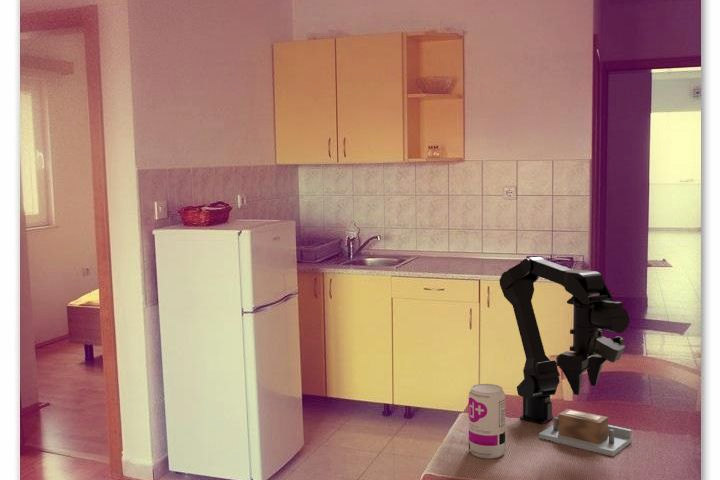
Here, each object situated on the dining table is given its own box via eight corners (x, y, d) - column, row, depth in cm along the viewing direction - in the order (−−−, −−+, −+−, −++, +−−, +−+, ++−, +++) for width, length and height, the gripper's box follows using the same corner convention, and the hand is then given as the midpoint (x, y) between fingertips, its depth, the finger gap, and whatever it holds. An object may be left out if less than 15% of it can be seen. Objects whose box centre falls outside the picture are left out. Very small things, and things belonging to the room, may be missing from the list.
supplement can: (483, 462, 155) (483, 395, 154) (461, 450, 163) (461, 386, 161) (512, 455, 159) (512, 390, 158) (490, 443, 166) (489, 381, 165)
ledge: (538, 438, 169) (538, 421, 169) (559, 425, 177) (559, 409, 177) (613, 456, 157) (613, 438, 157) (631, 442, 166) (631, 424, 165)
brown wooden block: (558, 434, 168) (558, 413, 168) (567, 428, 172) (567, 408, 171) (599, 444, 161) (599, 422, 161) (608, 438, 165) (608, 416, 165)
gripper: (602, 336, 154) (601, 406, 155) (635, 323, 167) (634, 387, 169) (555, 330, 161) (554, 397, 162) (590, 317, 175) (589, 379, 176)
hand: (585, 390), depth 167 cm, fingers open, 9 cm apart
